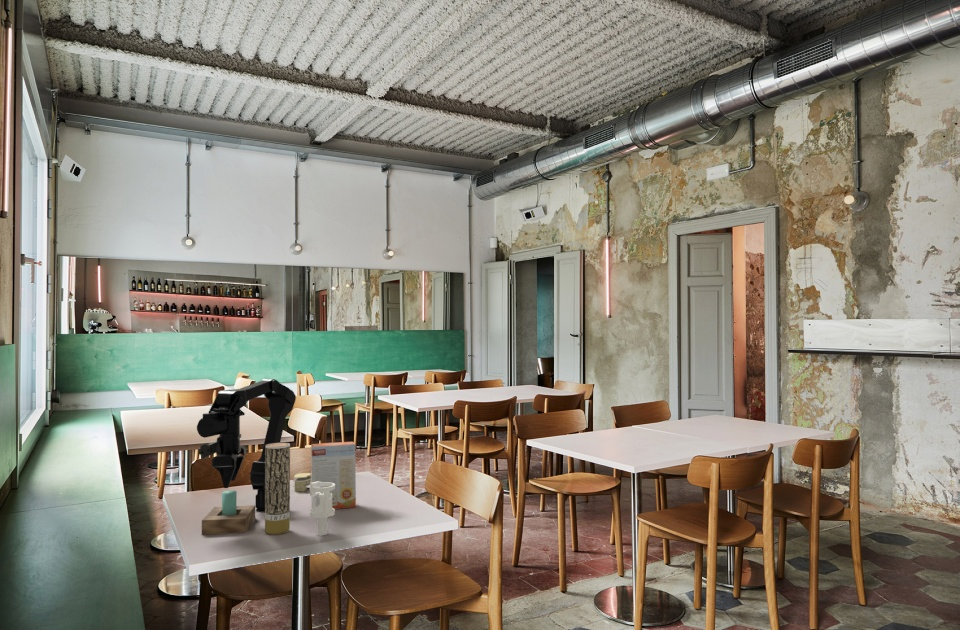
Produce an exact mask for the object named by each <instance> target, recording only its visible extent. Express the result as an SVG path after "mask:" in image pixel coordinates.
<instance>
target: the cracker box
mask: <svg viewBox="0 0 960 630" xmlns="http://www.w3.org/2000/svg"><path fill="white" fill-rule="evenodd" d="M310 452H311V453H310V462H311V463H310V464H311V465H310V466H311V467H310V468H311V469H310V471H311V472H310V473H311V475H310V477H311V483H312V482H316V481H320V482H330V483H334V484H335V489H334V490H331V491H329V493H332V508H334V509H335V510H337V509H339V510H340V509H349V508H352V509H353V508H356V506H357V503H356V502H357V497H356V494H357V491H356V489H357V488H356V487H357V485H356V476H357V475H356V470H357V469H356V443H355V442H354V441H343V442H342V441H341V442H339V441H338V442H325V443H324V442H323V443H311V444H310ZM324 487H328V486H322V487H320V488H324ZM310 496H311V495H310ZM311 501H312V496H311Z"/></svg>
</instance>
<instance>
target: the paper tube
mask: <svg viewBox="0 0 960 630" xmlns="http://www.w3.org/2000/svg"><path fill="white" fill-rule="evenodd" d="M265 446H266V447H265V511H264V531H265V533H266V534H267V535H273V536H276V535H283V534H286V533H287V532H289V530H290V524H291V523H290V521H291V520H290V518H291V517H290V514H291V511H290V510H291V507H290V506H291V502H290V501H291V500H290V499H291V488H290V487H291V444H290V443H289V442H280V443H271V444H267V445H265Z"/></svg>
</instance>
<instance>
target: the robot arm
mask: <svg viewBox="0 0 960 630" xmlns="http://www.w3.org/2000/svg"><path fill="white" fill-rule="evenodd" d="M263 395H264V398H266V399H267V401H268V404H267V406H268V410H269V413H270V415H269V416H270V417H269V421H268V425H267V429H266V432H265V433H266V434H265V437H264V441H263V446H262V450H261V455H260V458H258V459H257V461H253V462H252V464H251V470H250V471H249V480H250V483H251V487H252V490H253V491H256V490H257V492H256V494H255V512H261V511H262V512H265V447H266V446H265V445H267V444H271V443H281V440H282V435H283V431H284V427H285V423H286V418H287V416H288V415H289V414H290V413H291V412H292V411H293V408H294V407H295V403H296V399H297V395H296V394H295V392H294V391H293V389H291V388H289V387H288V386H286V385H285V384H283V383H280V382H279V381H278V380H277V379H274V378H263V379H261V380H260V381H257V382H254V383H252V384H248V385H247V386H243V387H241V388H237V389H236V388H235V389H224V390H223V389H222V390H219V391H218V392H217V395H216V397H215V399H214V401H213V403H212V405H211V406H210V409H209V410H208V413H202V418H200V419H199V421H198V422H197V425H196V431H197V433H198V435H199V436H200V437H202V438H205V439H206V438H211V437H214V436H215V437H216V436H218V437H217V438H216V440H215V441H213V442H210V443H208V442H206V443H203V444H201V445H200V447H199V448H198V449H197V450H198V455H199V456H200V457H201V459H206V458H207V457H209V456H211V455H214V454H216V455H215V456H214V457H213V458H212V459H211V467H212V468H213V469H215V470H216V471H218V472H219V476H220V478H221V481H222V486H223V488H224V489H228V488H229V487H230V483H231V482H232V481H233V482H234V481H235V480H236V479H237V476H238V474H239V471H240V469H241V466H242V464H243V462H244V459H245V457H246V454H247V447H246V446H244V445H243V444H240V443H241V438H242V433H241V430H240V429H241V428H240V427H241V425H240V424H241V418H240V417H241V416H242V417H243V416H245V414H246V413H245V412H244V411H243V410H242V408H244V407H245V406H246V405H247V403H248V402H249V401H250V400H254V399H256V398H258V397H261V396H263Z"/></svg>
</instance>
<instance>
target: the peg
mask: <svg viewBox="0 0 960 630" xmlns="http://www.w3.org/2000/svg"><path fill="white" fill-rule="evenodd" d="M237 492H238V491H237V490H226V491H222V493H221V507H222V516H224V515H236V506H237V498H238V497H237Z"/></svg>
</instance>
